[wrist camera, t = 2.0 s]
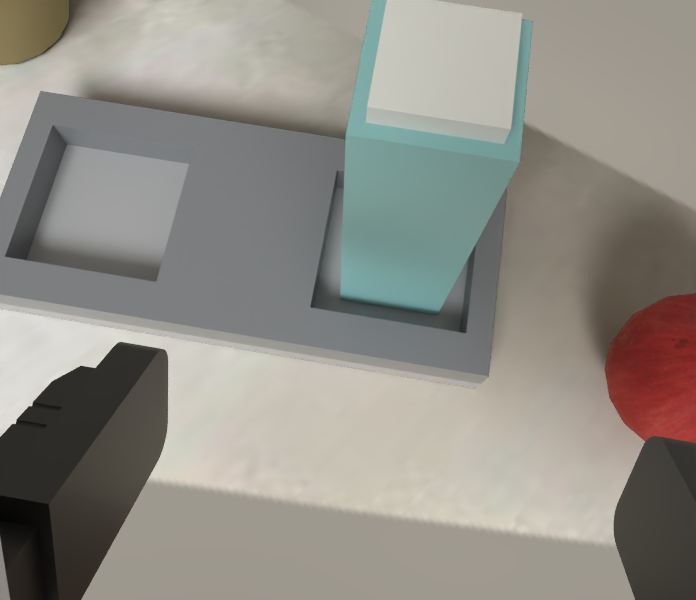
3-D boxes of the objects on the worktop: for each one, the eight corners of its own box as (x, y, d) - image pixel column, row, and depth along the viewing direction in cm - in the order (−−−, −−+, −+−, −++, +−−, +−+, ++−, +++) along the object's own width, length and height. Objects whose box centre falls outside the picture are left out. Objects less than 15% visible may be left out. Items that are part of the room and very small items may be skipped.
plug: (339, 299, 26) (346, 119, 14) (358, 195, 27) (378, -48, 15) (436, 315, 26) (527, 147, 14) (450, 210, 27) (542, -24, 15)
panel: (-2, 308, 26) (-35, 288, 24) (64, 125, 29) (40, 91, 27) (474, 388, 26) (488, 376, 23) (494, 193, 29) (509, 165, 26)
